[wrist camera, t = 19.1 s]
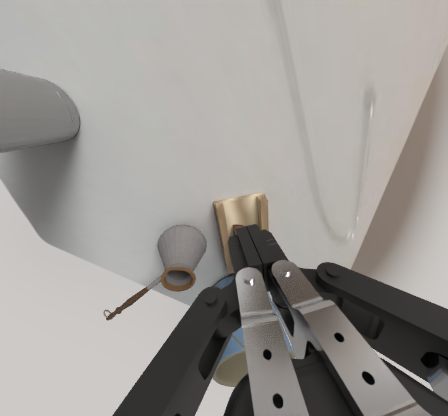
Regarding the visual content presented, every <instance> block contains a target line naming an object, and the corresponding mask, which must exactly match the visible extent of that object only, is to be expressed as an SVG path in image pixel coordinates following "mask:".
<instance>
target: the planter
mask: <svg viewBox="0 0 448 416" xmlns="http://www.w3.org/2000/svg"><path fill="white" fill-rule="evenodd" d="M233 279H234V275H232V276H229V277H226V278H224V279H222V280H221V281H219V282H218V283H217V284H216V285H215V286H214V287H218V288H220V289H222V288H224V287H226V286H227V285H229V284H230V283H231V282H232V280H233ZM267 293H268V292H267ZM268 296H269V294H268ZM269 299H270V297H269ZM270 303H271V306H272V309H273V312H274V314H276V315H277V313H276V310H275V308H274V306H273V303H272V301H271V299H270ZM277 318H278V320H279V323H280V326H281V330H282V333H283V336H284V339H285V342H286V345H287V348H288V351H289V355H290V358H292V359H295V355H294V352H293V350H292V347H291V346H290V343H289V340H288V338H287V336H286V333H285V331H284V329H283V326H282V324H281V322H280V319H279V317H278V315H277ZM247 373H248V366H247V359H246V352H245V345H244V338H243V330H242V327H241V328H239V329H238V330H236V331H235V332H233V333H232V336H231V338H230V340H229V343H228V345H227V347H226V349H225V351H224V353H223V355H222V358H221V360H220V362H219V364H218V366H217V368H216V371H215V373H214V375H213V379H214V380H215V381H216V382H217V383H219V384H221V385H225V386H230V387H236V385H237V384H238V383H239V381H240V380H241V379H242V378H243V377H244V376H245V375H246V374H247Z"/></svg>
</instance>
